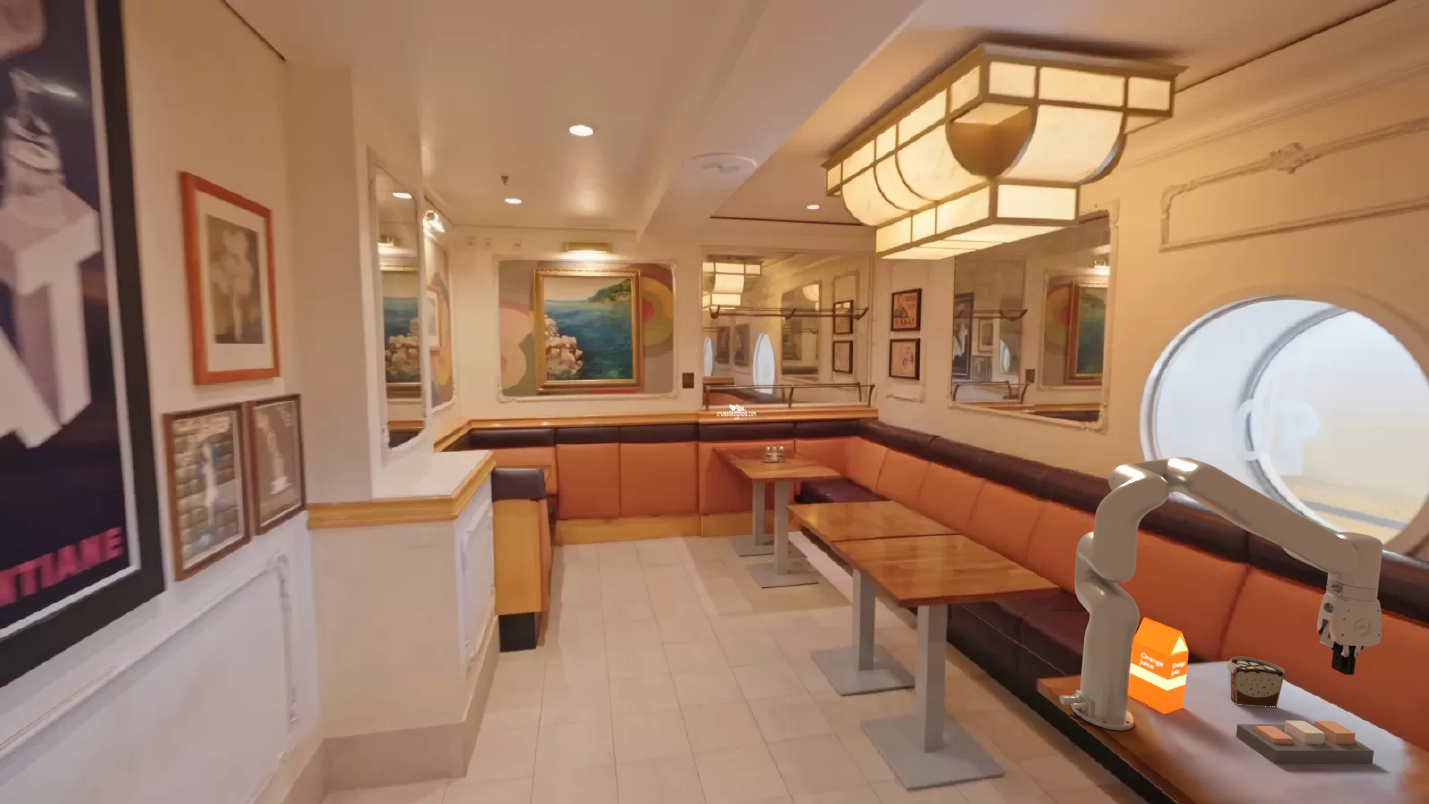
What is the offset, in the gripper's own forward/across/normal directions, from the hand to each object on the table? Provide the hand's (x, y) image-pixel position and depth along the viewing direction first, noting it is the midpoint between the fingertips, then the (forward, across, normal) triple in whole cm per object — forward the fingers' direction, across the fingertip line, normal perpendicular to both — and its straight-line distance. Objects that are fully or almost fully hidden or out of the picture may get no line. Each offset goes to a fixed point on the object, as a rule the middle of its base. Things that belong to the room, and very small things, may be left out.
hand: (1342, 671), depth 131 cm
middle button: (+17, -7, 0) cm, 18 cm away
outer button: (+17, 0, 0) cm, 17 cm away
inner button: (+18, -14, 0) cm, 23 cm away
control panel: (+18, -7, 0) cm, 20 cm away
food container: (+18, -1, +20) cm, 27 cm away
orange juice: (+18, -26, +19) cm, 37 cm away
